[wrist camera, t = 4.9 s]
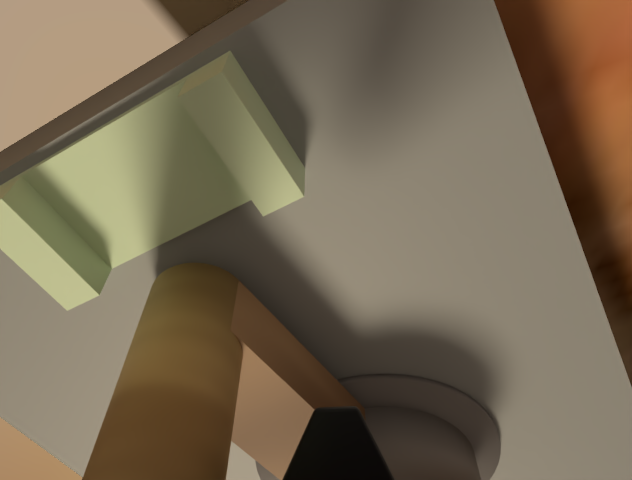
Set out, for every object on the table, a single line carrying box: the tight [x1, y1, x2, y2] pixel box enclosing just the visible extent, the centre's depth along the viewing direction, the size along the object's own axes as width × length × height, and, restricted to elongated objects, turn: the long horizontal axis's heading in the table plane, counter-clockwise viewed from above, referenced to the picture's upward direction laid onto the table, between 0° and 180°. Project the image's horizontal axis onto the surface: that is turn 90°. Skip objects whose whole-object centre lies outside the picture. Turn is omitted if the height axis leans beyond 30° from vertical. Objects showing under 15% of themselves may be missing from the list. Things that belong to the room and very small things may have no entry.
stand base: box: [0, 0, 632, 480], centre depth 14 cm, size 16×14×3 cm
